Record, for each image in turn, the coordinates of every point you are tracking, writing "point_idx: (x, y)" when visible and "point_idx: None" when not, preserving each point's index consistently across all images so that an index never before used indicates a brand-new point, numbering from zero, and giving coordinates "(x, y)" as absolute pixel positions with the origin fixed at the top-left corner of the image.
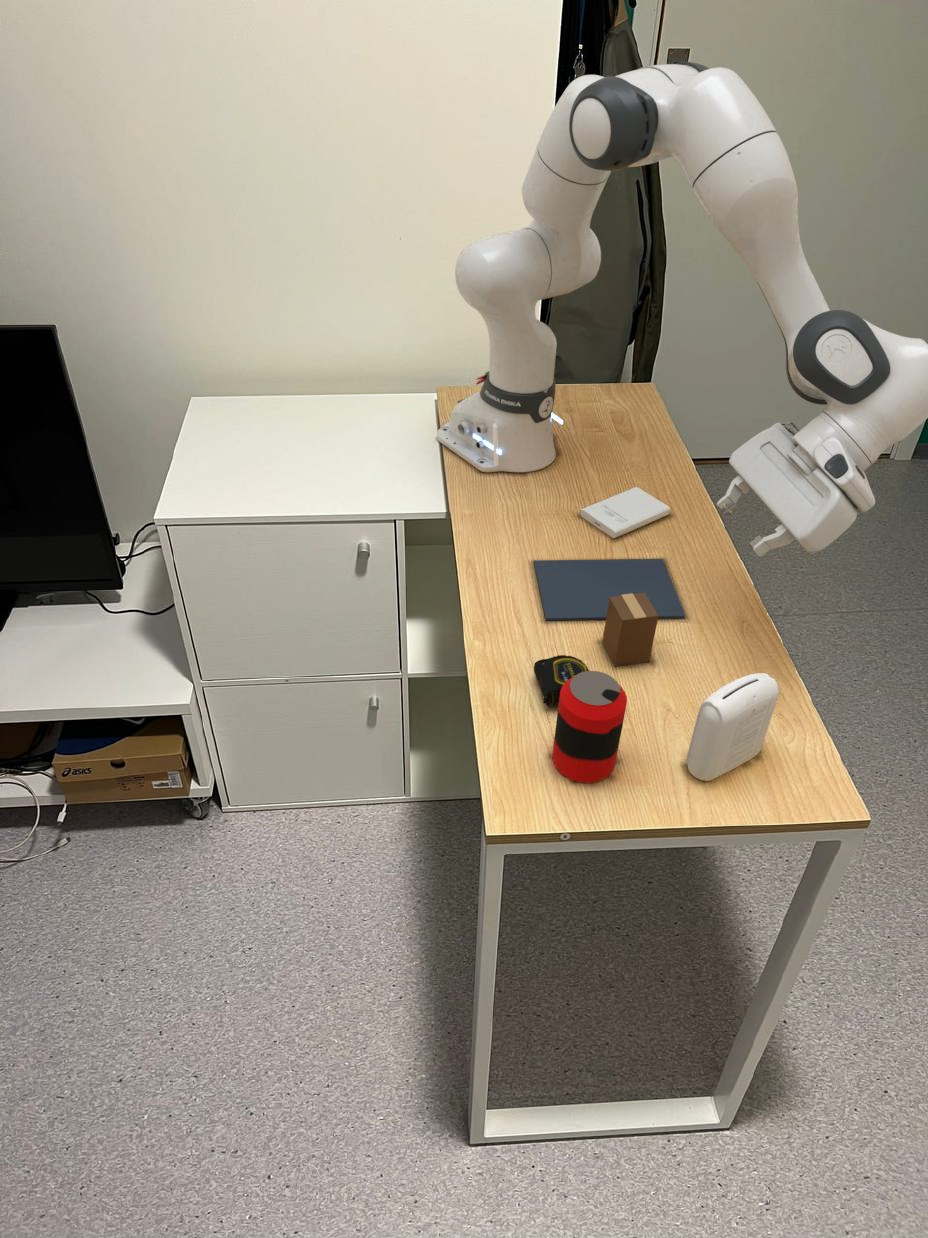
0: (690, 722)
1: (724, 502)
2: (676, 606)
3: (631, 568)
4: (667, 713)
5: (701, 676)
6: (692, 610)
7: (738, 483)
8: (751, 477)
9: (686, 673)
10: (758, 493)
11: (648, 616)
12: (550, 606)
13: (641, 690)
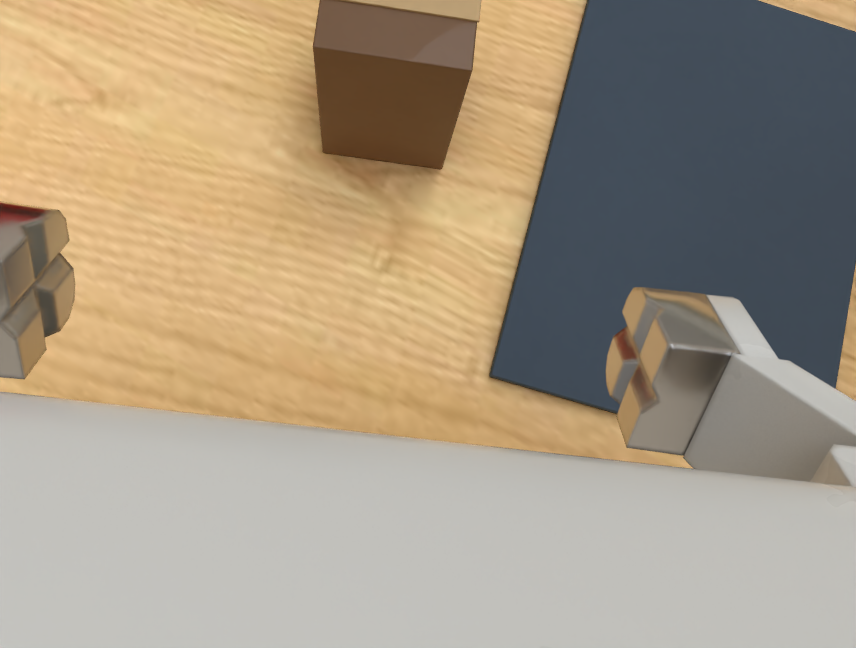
0: (23, 130)
1: (687, 316)
2: (547, 373)
3: (788, 328)
4: (88, 87)
5: (199, 274)
6: (522, 429)
7: (852, 465)
8: (812, 535)
9: (230, 235)
10: (416, 439)
11: (321, 6)
12: None
13: (211, 66)
